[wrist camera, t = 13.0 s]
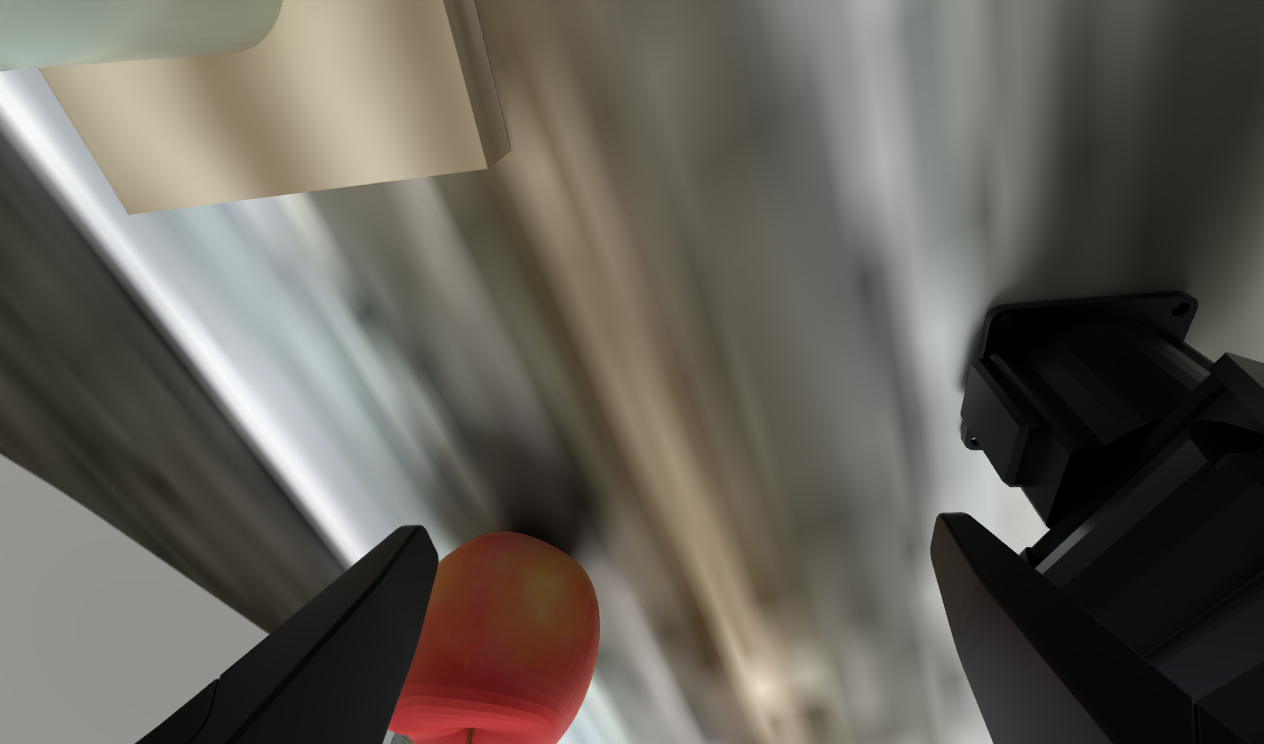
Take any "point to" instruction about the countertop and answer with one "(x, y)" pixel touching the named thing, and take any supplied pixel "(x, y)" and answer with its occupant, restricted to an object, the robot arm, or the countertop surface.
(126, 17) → the sage bottle
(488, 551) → the apple
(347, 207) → the countertop surface
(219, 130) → the birch pad
